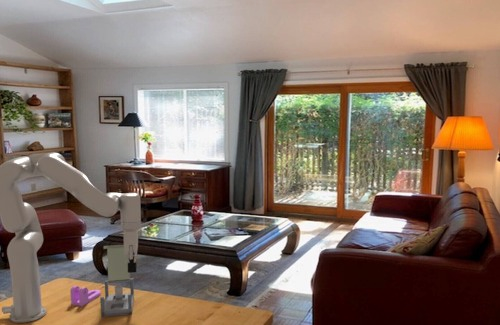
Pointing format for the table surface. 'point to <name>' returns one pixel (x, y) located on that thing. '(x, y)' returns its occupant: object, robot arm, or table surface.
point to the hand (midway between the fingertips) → (132, 270)
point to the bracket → (83, 295)
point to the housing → (117, 301)
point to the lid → (117, 264)
